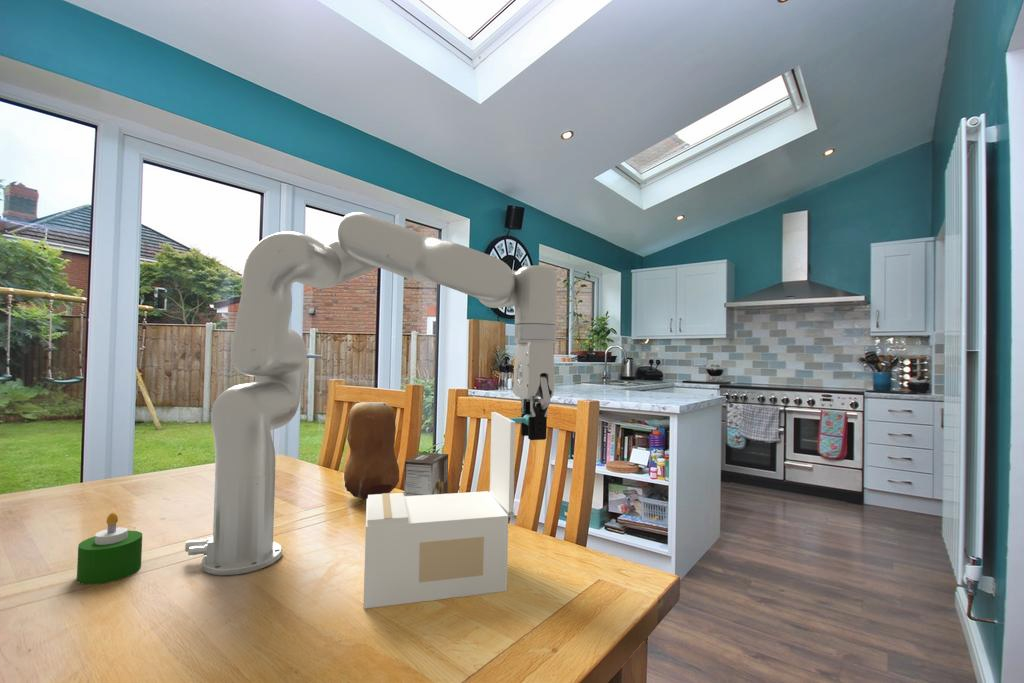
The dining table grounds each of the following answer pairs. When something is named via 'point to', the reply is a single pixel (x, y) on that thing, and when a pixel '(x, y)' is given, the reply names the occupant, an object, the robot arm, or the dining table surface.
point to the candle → (109, 554)
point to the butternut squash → (371, 450)
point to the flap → (503, 459)
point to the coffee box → (426, 475)
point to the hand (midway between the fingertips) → (533, 436)
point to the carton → (433, 547)
